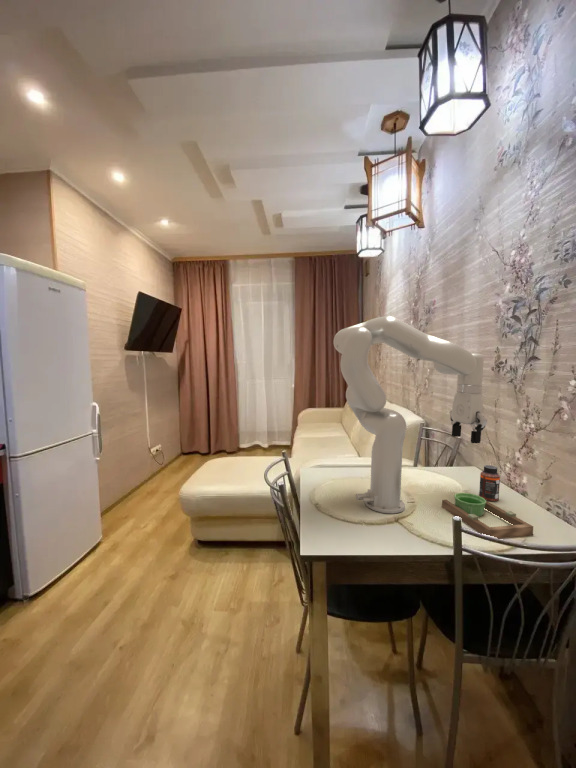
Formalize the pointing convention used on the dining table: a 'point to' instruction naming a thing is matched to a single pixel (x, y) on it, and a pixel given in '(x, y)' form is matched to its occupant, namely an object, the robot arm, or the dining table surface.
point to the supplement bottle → (489, 483)
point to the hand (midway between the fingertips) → (465, 439)
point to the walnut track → (500, 532)
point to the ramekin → (470, 503)
